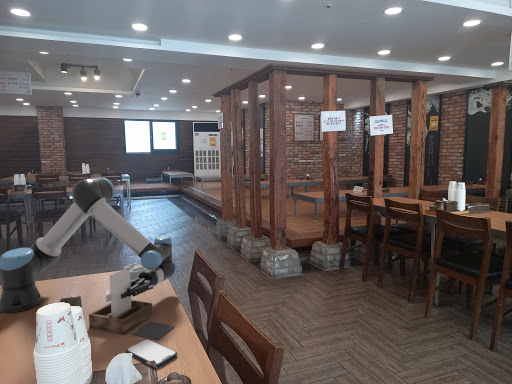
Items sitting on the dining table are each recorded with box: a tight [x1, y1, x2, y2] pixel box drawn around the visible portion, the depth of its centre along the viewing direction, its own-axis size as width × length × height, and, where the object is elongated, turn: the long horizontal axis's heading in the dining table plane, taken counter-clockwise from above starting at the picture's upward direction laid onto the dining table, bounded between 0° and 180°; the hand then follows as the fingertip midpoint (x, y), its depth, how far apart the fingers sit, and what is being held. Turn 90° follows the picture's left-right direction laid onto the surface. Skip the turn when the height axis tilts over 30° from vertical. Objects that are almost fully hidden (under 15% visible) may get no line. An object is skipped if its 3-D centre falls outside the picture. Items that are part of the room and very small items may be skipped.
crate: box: [88, 299, 154, 336], centre depth 135 cm, size 16×16×5 cm
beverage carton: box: [58, 295, 83, 308], centre depth 135 cm, size 8×19×7 cm, turn 16°
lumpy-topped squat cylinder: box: [123, 262, 148, 280], centre depth 177 cm, size 10×13×9 cm
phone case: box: [125, 338, 178, 369], centre depth 112 cm, size 9×2×16 cm
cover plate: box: [109, 268, 132, 318], centre depth 134 cm, size 2×8×18 cm, turn 159°
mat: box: [131, 320, 176, 341], centre depth 127 cm, size 11×10×1 cm
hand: (110, 299), depth 129 cm, fingers closed on cover plate, 2 cm apart
